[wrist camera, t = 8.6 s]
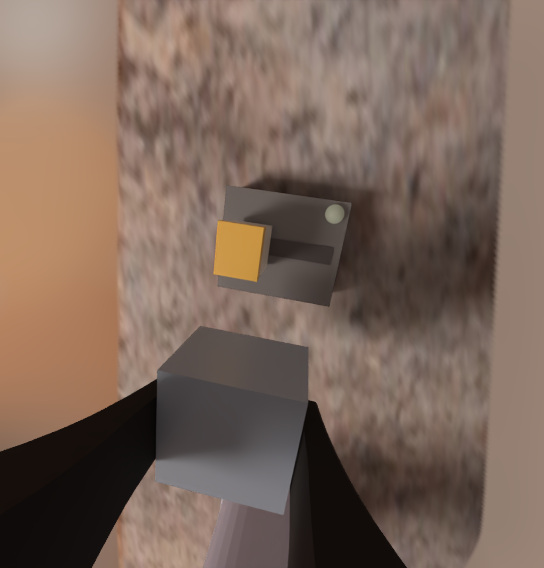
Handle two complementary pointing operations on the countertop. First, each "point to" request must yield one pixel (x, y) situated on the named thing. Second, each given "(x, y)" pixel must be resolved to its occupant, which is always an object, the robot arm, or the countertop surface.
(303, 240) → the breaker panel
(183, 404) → the cap
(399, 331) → the countertop surface
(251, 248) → the handle
